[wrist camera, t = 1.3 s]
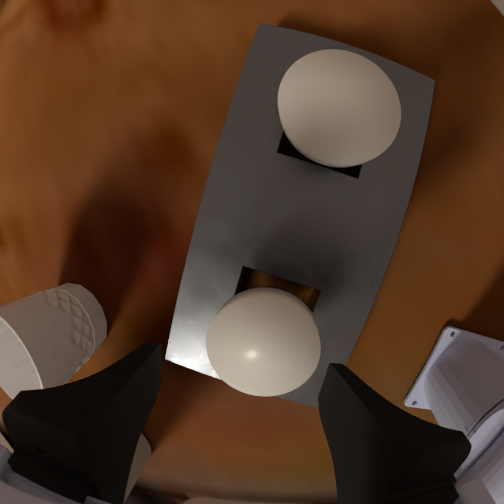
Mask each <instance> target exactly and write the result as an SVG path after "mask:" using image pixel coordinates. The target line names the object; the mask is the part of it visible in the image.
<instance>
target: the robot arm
mask: <svg viewBox="0 0 504 504" xmlns="http://www.w3.org/2000/svg"><path fill="white" fill-rule="evenodd" d="M453 331H454V332H453ZM452 332H453V334H452V335H451V333H452ZM161 346H162V343H158V342H153V341H147V342H145V343H144V344H142V345H141V346H139V347H138V348H137V349H135V350H134V351H132V352H131V353H130V354H128V355H127V356H125V357H124V358H122V359H121V360H119V361H117V362H116V363H114V364H112V365H111V366H109V367H107V368H105V369H104V370H102V371H100V372H98V373H96V374H93V375H91V376H89V377H86V378H84V379H81V380H78V381H75V382H71V383H68V384H65V385H61V386H56V387H51V388H45V389H36V390H22V391H20V392H19V393H18V394H17V395H16V396H15V398H14V399H13V400H12V401H11V402H10V403H9V404H8V406H7V407H6V408H5V409H4V411H3V413H2V419H3V422H4V425H5V427H6V430H7V432H8V434H9V435H10V437H11V439H12V441H13V443H14V445H15V447H16V449H15V451H14V452H13V454H12V453H11V452H10V451H9V450H8V449H7V448H6V447H4V446H3V445H1V444H0V504H123V503H124V497H125V492H126V487H127V483H128V478H129V474H130V470H131V466H132V462H133V458H134V454H135V451H136V447H137V444H138V441H139V438H140V435H141V433H142V431H143V429H144V426H145V424H146V422H147V419H148V417H149V415H150V413H151V410H152V408H153V406H154V403H155V401H156V398H157V395H158V391H159V388H160V384H161ZM413 401H415V402H414V403H412V402H413ZM404 404H405V405H406V406H408V407H415V408H422V409H430V410H432V412H433V414H434V416H435V418H436V420H437V422H438V423H439V425H440V426H439V425H436V424H433V423H430V422H427V421H425V420H422V419H420V418H418V417H416V416H413V415H411V414H409V413H407V412H405V411H404V410H402V409H400V408H399V407H397V406H395V405H394V404H392V403H391V402H389V401H388V400H386V399H385V398H383V397H382V396H381V395H379V394H378V393H377V392H376V391H374V390H373V389H372V388H371V387H369V386H368V385H367V384H366V383H365V382H363V381H362V380H361V379H360V378H359V377H358V376H357V375H355V374H354V373H353V372H352V371H351V370H350V369H349V368H347V367H346V366H345V365H344V364H341V363H329V366H328V369H327V372H326V375H325V378H324V381H323V384H322V387H321V390H320V392H319V395H318V405H319V413H320V418H321V421H322V425H323V428H324V432H325V435H326V438H327V442H328V445H329V448H330V452H331V455H332V459H333V464H334V471H335V478H336V486H337V496H338V504H504V342H503V341H500V340H497V339H493V338H490V337H486V336H483V335H479V334H476V333H472V332H469V331H466V330H462V329H459V328H455V327H452V326H446V327H445V328H444V329H443V331H442V333H441V335H440V337H439V339H438V341H437V343H436V345H435V347H434V349H433V351H432V353H431V355H430V357H429V358H428V360H427V362H426V364H425V366H424V368H423V369H422V371H421V373H420V375H419V376H418V378H417V380H416V382H415V383H414V385H413V387H412V388H411V390H410V392H409V393H408V395H407V397H406V398H405V400H404Z"/></svg>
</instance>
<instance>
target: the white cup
mask: <svg viewBox="0 0 504 504" xmlns="http://www.w3.org/2000/svg"><path fill="white" fill-rule="evenodd" d="M106 337H107V321H106V318H105V315H104V312H103V308H102V306H101V305H100V303H99V302H98V301H97V299H96V298H95V296H94V295H93V294H92V293H91V292H90V291H88V290H87V289H86V288H84V287H83V286H81V285H80V284H73V283H66V284H63V285H60V286H58V287H55V288H52V289H48V290H43V291H40V292H37V293H34V294H31V295H28V296H25V297H22V298H19V299H17V300H14V301H11V302H9V303H6V304H3V305H1V306H0V386H1V387H2V389H3V390H4V391H5V392H6V393H7V394H8V395H9V396H10V397H11V398H12V399H14V398H15V396H16V395H17V394H18V393H19V392H20V391H22V390H36V389H45V388H51V387H56V386H61V385H64V384H65V383H66V382H67V381H68V380H69V379H70V378H71V377H72V376H73V375H74V374H75V373H76V372H77V371H78V370H79V369H80V368H81V367H82V366H83V365H84V364H85V363H86V362H87V361H88V359H89V358H90V356H92V355H93V354H94V353H95V352H96V351H97V350H98V349H99V348H100V347H101V345H102V344H103V342H104V341H105V339H106Z"/></svg>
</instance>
